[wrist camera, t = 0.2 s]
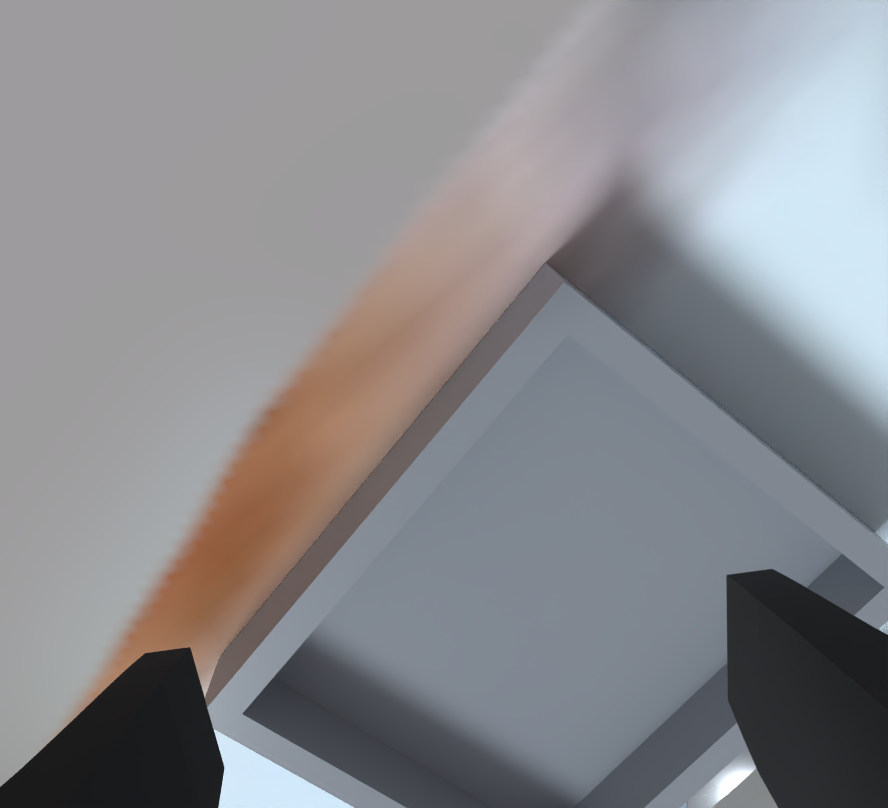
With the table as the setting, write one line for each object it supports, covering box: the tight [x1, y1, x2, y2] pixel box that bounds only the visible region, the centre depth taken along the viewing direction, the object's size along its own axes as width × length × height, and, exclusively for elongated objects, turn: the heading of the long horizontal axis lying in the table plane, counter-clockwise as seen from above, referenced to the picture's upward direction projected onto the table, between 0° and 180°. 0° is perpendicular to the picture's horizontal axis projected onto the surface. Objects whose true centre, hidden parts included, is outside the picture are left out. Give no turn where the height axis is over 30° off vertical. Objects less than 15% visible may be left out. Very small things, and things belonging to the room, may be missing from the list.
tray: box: [205, 263, 888, 808], centre depth 21 cm, size 14×12×2 cm
